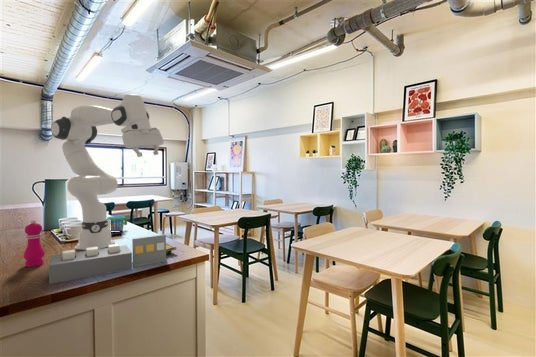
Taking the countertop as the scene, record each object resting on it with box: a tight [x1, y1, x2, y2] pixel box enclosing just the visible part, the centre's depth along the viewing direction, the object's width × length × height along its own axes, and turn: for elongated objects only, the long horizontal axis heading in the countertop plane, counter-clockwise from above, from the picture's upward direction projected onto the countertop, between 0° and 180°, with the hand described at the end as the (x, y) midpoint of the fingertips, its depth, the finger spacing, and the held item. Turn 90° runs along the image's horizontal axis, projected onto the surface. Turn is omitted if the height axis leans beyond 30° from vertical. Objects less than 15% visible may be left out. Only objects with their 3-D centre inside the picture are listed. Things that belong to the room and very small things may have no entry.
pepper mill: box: [23, 219, 46, 268], centre depth 125 cm, size 7×7×20 cm
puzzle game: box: [166, 242, 177, 255], centre depth 144 cm, size 12×5×20 cm
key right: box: [107, 243, 121, 253], centre depth 122 cm, size 4×4×4 cm
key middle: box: [85, 247, 98, 256], centre depth 118 cm, size 4×4×4 cm
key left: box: [61, 249, 76, 260], centre depth 113 cm, size 4×4×4 cm
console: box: [48, 244, 133, 285], centre depth 118 cm, size 14×28×7 cm, turn 124°
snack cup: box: [107, 215, 128, 232], centre depth 188 cm, size 16×10×10 cm
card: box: [132, 234, 168, 268], centre depth 128 cm, size 5×14×12 cm, turn 124°
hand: (148, 155), depth 136 cm, fingers open, 8 cm apart
